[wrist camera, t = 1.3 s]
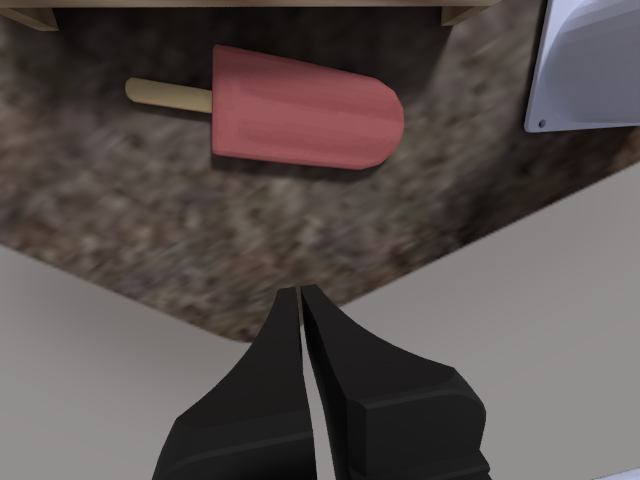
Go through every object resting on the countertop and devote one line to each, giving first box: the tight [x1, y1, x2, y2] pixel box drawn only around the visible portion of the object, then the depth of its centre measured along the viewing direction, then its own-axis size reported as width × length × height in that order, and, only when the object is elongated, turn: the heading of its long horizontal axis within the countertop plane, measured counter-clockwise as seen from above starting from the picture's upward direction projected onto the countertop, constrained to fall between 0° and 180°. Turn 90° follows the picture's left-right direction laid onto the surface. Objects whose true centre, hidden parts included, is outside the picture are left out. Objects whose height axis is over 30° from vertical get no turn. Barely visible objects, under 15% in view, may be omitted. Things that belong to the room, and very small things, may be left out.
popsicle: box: [125, 44, 404, 170], centre depth 16 cm, size 5×2×15 cm
